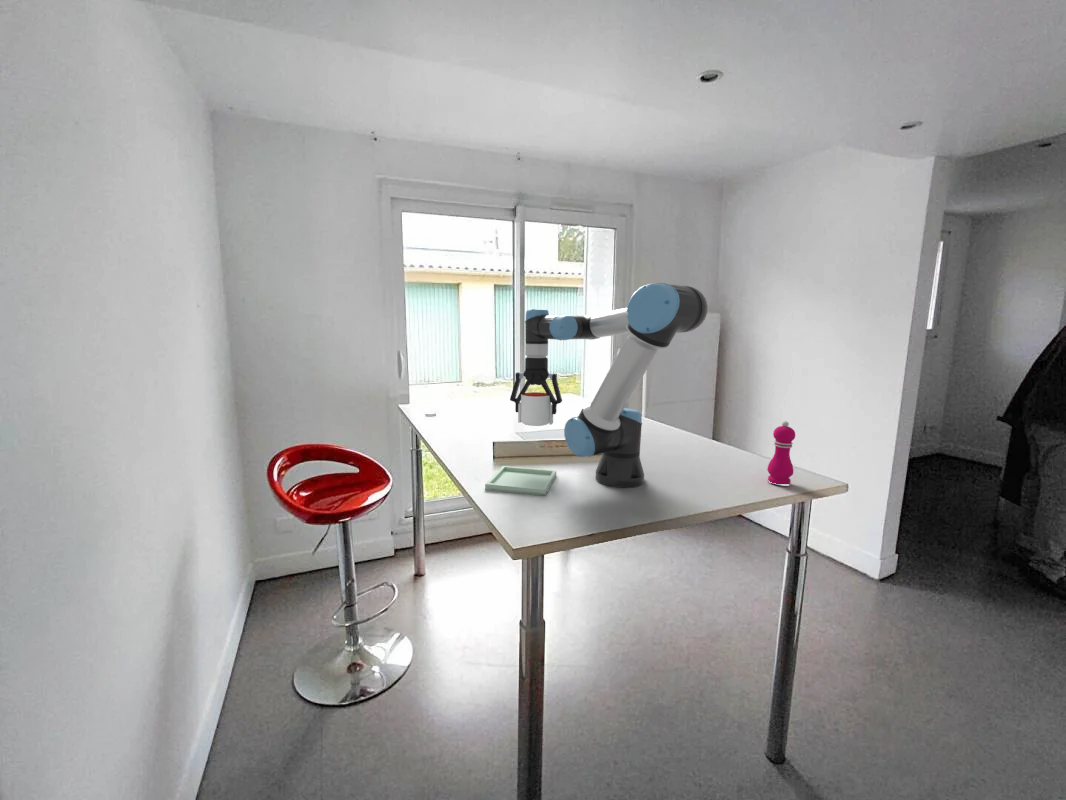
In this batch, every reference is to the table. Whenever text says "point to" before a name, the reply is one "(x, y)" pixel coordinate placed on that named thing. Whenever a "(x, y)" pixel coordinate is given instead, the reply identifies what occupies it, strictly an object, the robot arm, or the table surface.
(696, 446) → the table surface
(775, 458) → the pepper mill
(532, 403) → the cup
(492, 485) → the tray
